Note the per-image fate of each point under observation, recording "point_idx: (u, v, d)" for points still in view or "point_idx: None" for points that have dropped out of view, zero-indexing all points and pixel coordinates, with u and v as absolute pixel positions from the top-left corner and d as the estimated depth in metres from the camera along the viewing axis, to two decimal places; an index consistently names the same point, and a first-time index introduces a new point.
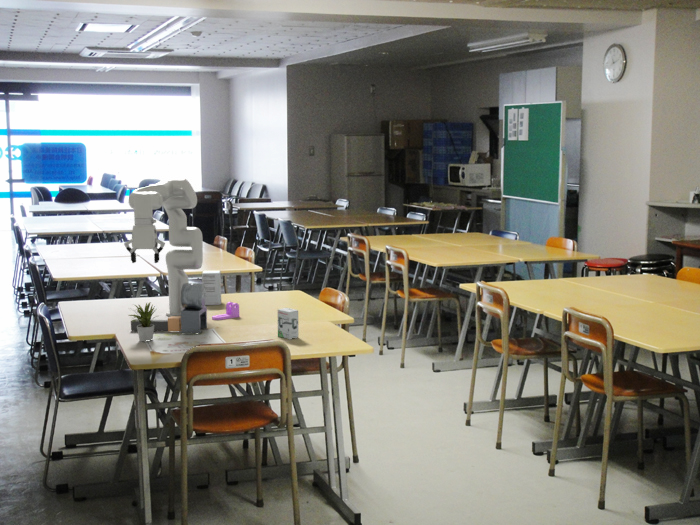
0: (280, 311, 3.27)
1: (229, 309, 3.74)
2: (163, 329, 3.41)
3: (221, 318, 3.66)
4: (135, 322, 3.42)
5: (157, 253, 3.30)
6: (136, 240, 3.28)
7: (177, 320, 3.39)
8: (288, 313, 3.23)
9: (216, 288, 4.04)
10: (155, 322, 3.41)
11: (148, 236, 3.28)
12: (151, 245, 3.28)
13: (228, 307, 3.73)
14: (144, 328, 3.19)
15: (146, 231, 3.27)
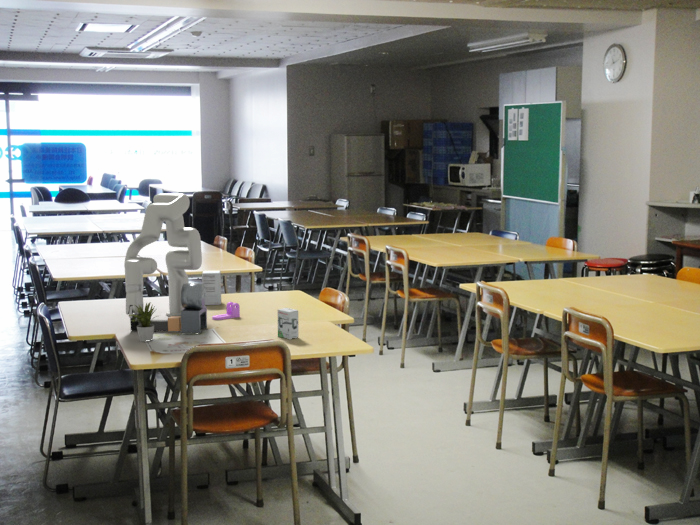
0: (280, 311, 3.27)
1: (229, 309, 3.74)
2: (163, 329, 3.41)
3: (221, 318, 3.66)
4: None
5: None
6: (138, 305, 3.40)
7: (177, 320, 3.39)
8: (288, 313, 3.23)
9: (216, 287, 4.04)
10: (155, 322, 3.41)
11: (142, 300, 3.44)
12: (142, 308, 3.46)
13: (228, 307, 3.73)
14: (144, 328, 3.19)
15: (141, 295, 3.43)
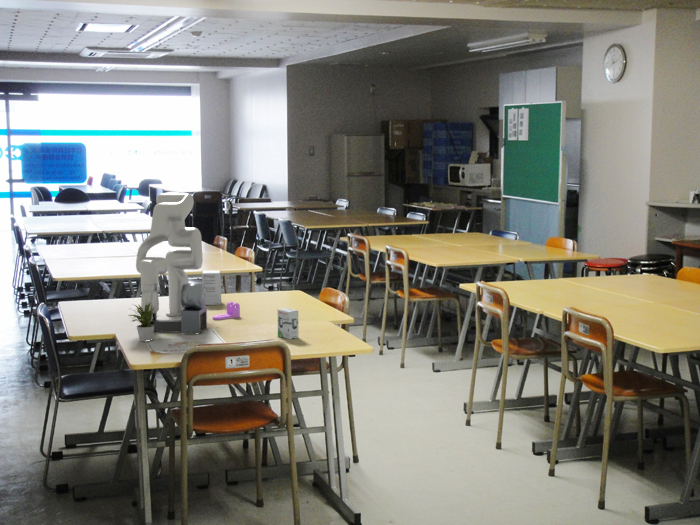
0: (280, 311, 3.27)
1: (230, 309, 3.74)
2: (178, 329, 3.40)
3: (221, 318, 3.66)
4: None
5: None
6: (153, 305, 3.39)
7: None
8: (288, 313, 3.23)
9: (216, 287, 4.04)
10: (170, 322, 3.40)
11: (157, 300, 3.44)
12: (158, 308, 3.45)
13: (229, 307, 3.74)
14: (144, 328, 3.19)
15: (157, 295, 3.43)
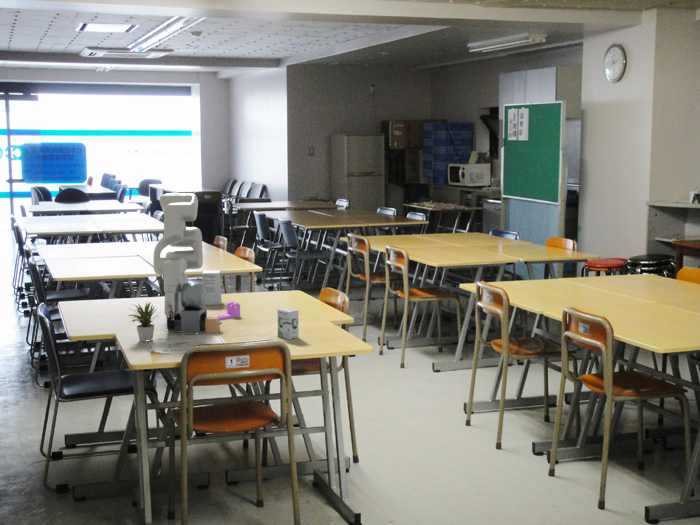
0: (280, 311, 3.27)
1: (230, 309, 3.74)
2: None
3: (222, 318, 3.66)
4: None
5: (179, 315, 3.47)
6: (177, 305, 3.38)
7: (214, 320, 3.38)
8: (288, 313, 3.23)
9: (216, 288, 4.04)
10: None
11: (180, 300, 3.43)
12: (180, 308, 3.45)
13: (229, 307, 3.74)
14: (144, 328, 3.19)
15: (179, 295, 3.42)
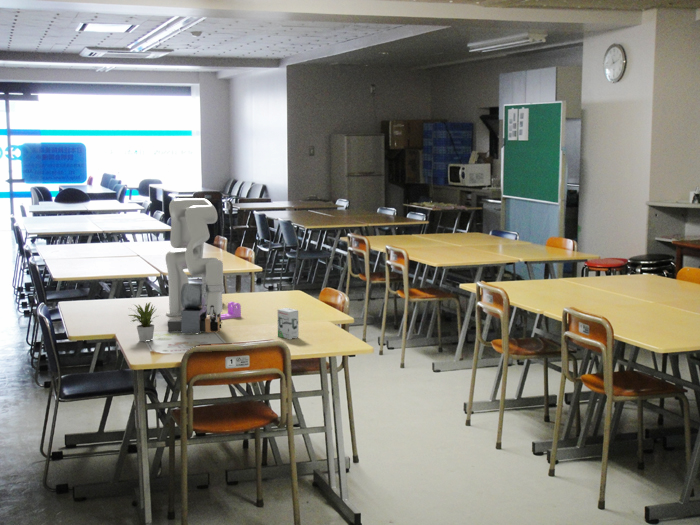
0: (280, 311, 3.27)
1: (231, 309, 3.74)
2: None
3: (222, 318, 3.67)
4: (172, 322, 3.40)
5: (219, 319, 3.44)
6: (219, 306, 3.37)
7: None
8: (288, 313, 3.23)
9: None
10: None
11: (221, 300, 3.42)
12: None
13: (230, 307, 3.74)
14: (144, 328, 3.19)
15: (221, 296, 3.40)
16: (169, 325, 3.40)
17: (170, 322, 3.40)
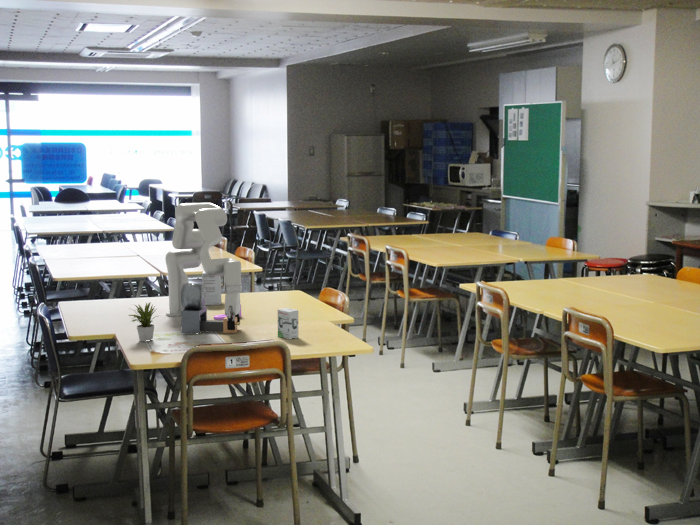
0: (280, 311, 3.27)
1: None
2: (218, 330, 3.39)
3: (223, 318, 3.67)
4: None
5: None
6: (237, 306, 3.36)
7: None
8: (288, 313, 3.23)
9: (216, 287, 4.04)
10: (210, 323, 3.39)
11: (239, 300, 3.41)
12: (239, 309, 3.42)
13: None
14: (144, 328, 3.19)
15: (239, 296, 3.40)
16: None
17: None
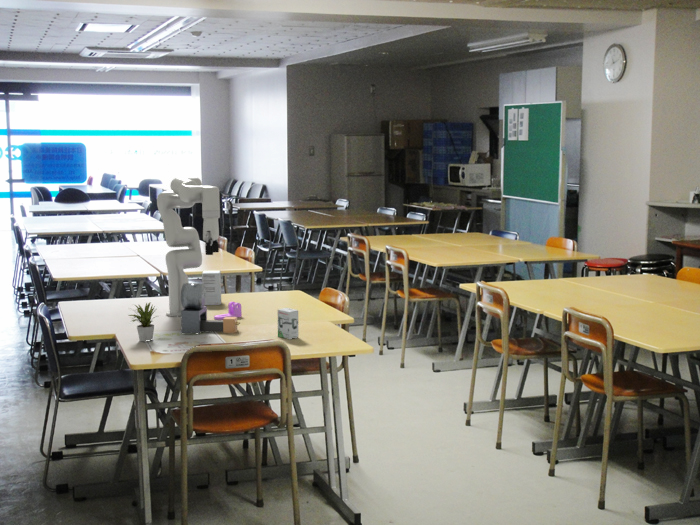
0: (280, 311, 3.27)
1: (231, 309, 3.74)
2: (218, 330, 3.39)
3: (223, 318, 3.67)
4: None
5: None
6: (215, 231, 3.40)
7: (232, 321, 3.37)
8: (288, 313, 3.23)
9: (216, 288, 4.04)
10: (210, 323, 3.39)
11: (218, 227, 3.45)
12: (218, 235, 3.46)
13: (230, 307, 3.74)
14: (144, 328, 3.19)
15: (217, 222, 3.44)
16: None
17: None
